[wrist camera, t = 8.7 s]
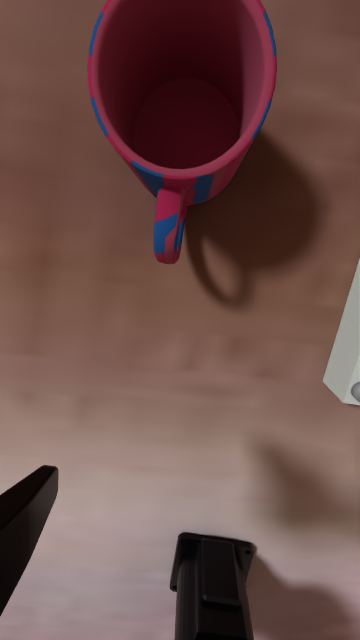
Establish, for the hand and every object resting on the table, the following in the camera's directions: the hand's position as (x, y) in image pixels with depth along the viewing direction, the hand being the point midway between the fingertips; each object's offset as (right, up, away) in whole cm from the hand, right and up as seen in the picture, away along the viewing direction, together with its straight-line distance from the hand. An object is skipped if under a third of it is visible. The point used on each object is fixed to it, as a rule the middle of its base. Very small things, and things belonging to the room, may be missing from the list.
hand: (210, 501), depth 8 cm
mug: (-1, +14, +9) cm, 17 cm away
